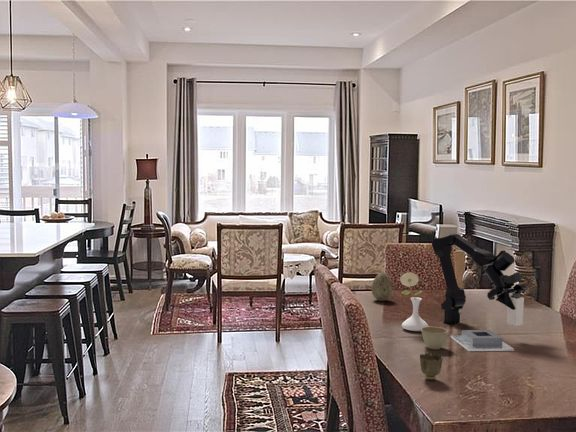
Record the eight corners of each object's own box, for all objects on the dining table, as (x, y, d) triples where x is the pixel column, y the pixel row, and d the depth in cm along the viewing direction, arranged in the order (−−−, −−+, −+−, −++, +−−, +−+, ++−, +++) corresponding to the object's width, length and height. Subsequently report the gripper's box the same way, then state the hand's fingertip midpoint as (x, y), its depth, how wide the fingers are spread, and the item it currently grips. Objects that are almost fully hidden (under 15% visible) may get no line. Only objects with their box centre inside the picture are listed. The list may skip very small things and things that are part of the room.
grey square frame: (450, 337, 262) (451, 327, 262) (492, 336, 264) (493, 327, 263) (468, 351, 242) (469, 341, 242) (514, 350, 244) (514, 340, 243)
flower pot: (448, 345, 249) (448, 327, 249) (445, 352, 240) (446, 334, 239) (422, 343, 252) (423, 325, 252) (419, 349, 243) (419, 331, 242)
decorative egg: (393, 303, 325) (394, 274, 323) (372, 302, 325) (373, 274, 324) (390, 298, 335) (391, 270, 334) (370, 298, 335) (370, 270, 334)
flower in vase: (431, 328, 275) (433, 271, 273) (425, 334, 265) (427, 275, 263) (401, 324, 281) (403, 269, 279) (394, 330, 270) (396, 273, 268)
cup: (416, 375, 213) (417, 352, 212) (437, 375, 213) (438, 352, 213) (422, 383, 205) (423, 359, 205) (444, 383, 206) (445, 359, 205)
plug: (506, 323, 259) (508, 293, 258) (513, 322, 261) (515, 292, 260) (515, 325, 255) (517, 295, 254) (522, 324, 257) (524, 294, 256)
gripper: (494, 267, 254) (516, 300, 246) (523, 264, 265) (545, 295, 256) (477, 283, 262) (498, 315, 253) (507, 279, 272) (527, 310, 263)
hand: (518, 308), depth 256 cm, fingers closed on plug, 4 cm apart
